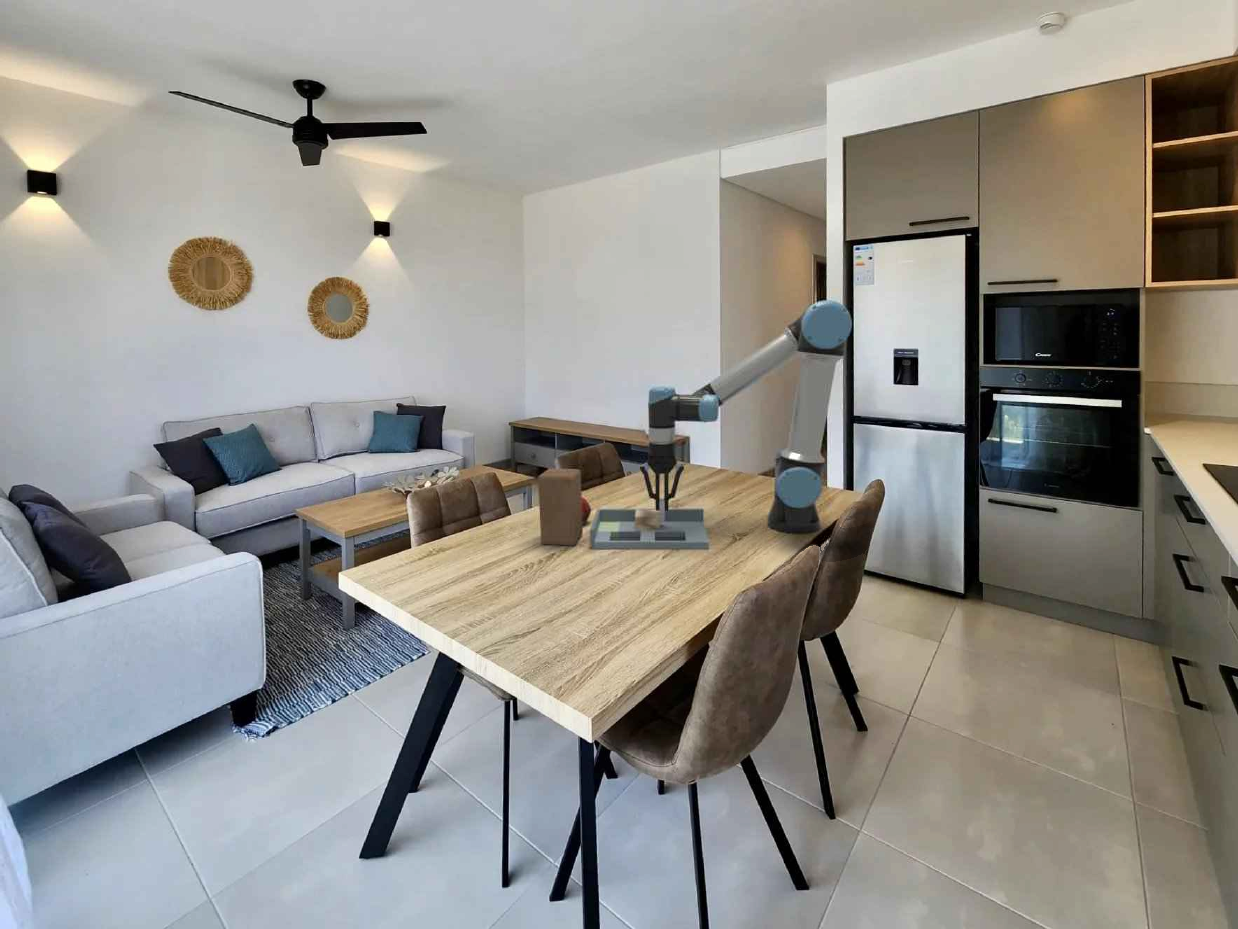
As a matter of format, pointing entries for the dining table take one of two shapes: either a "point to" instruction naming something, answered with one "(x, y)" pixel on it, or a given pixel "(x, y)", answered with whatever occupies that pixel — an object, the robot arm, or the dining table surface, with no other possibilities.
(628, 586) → the dining table surface
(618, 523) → the board
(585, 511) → the fruit
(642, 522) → the beech block
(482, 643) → the dining table surface
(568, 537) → the wooden block
